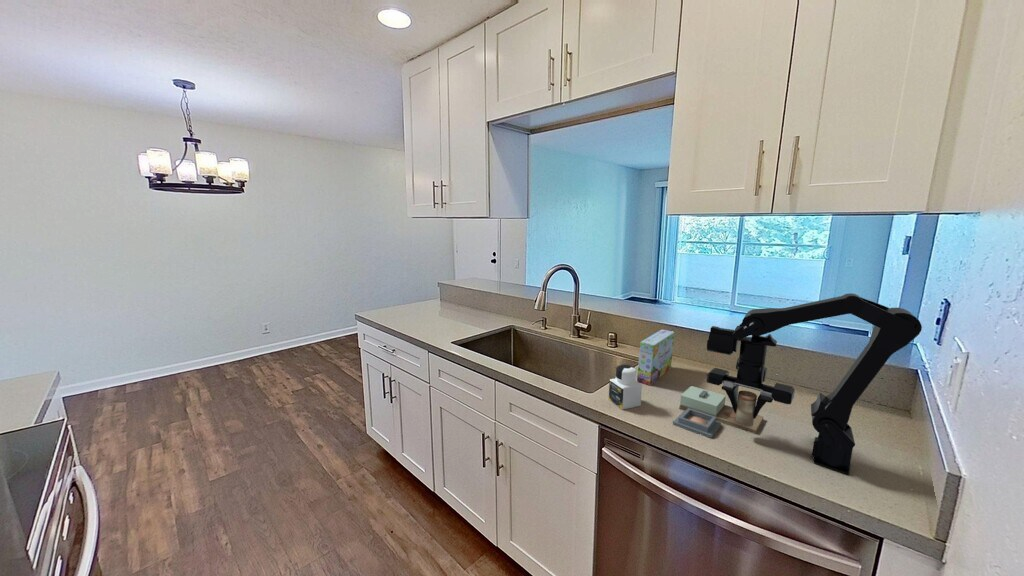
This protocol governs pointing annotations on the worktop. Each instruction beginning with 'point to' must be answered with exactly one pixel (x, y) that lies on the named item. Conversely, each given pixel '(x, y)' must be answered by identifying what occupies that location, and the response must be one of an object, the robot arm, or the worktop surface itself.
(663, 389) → the worktop surface
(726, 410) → the board
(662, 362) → the snack box
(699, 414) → the blue-grey square tray
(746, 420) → the peg
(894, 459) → the worktop surface
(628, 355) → the worktop surface
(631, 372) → the medicine bottle
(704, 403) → the cover
